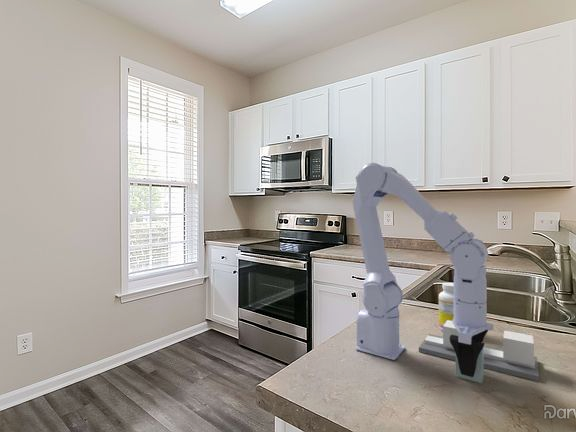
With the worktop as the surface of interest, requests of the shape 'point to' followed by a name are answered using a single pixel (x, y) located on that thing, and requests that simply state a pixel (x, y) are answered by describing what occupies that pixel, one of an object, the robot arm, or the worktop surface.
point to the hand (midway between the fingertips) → (469, 367)
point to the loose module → (478, 372)
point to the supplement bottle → (446, 304)
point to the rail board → (491, 352)
